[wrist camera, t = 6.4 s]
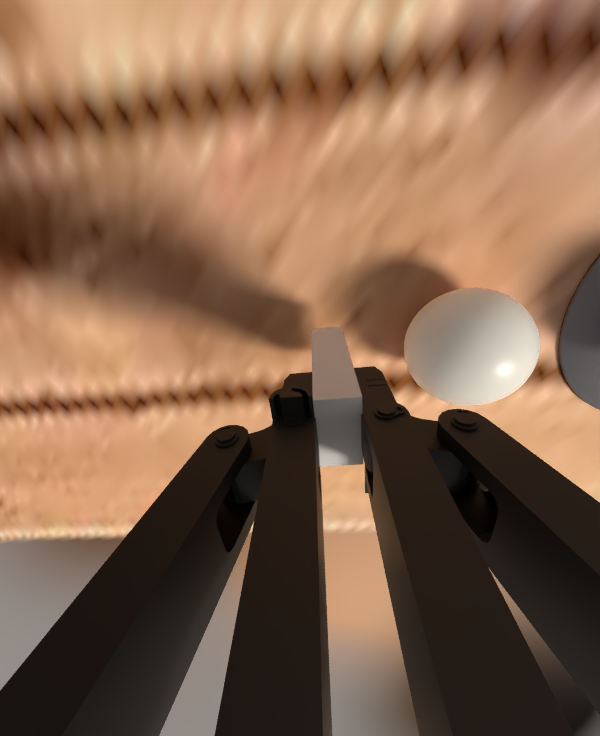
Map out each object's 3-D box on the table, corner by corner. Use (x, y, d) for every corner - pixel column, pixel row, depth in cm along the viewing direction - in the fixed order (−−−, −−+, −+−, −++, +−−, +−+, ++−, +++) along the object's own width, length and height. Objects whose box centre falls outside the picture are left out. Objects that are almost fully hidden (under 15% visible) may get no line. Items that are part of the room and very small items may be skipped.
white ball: (600, 371, 11) (506, 330, 16) (537, 266, 10) (453, 256, 15) (477, 451, 13) (425, 391, 18) (404, 372, 11) (369, 330, 16)
